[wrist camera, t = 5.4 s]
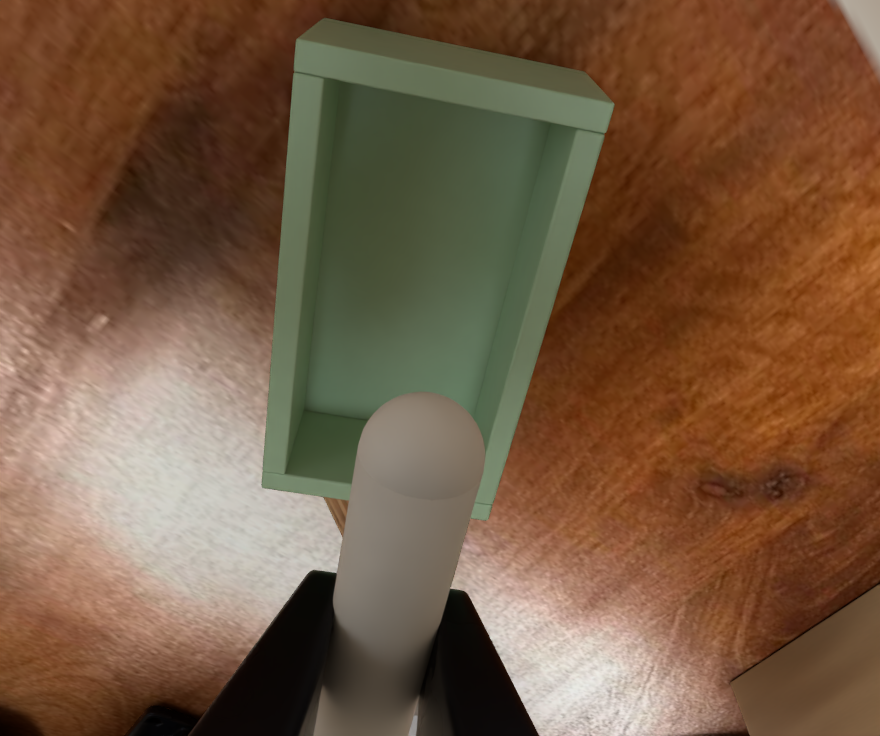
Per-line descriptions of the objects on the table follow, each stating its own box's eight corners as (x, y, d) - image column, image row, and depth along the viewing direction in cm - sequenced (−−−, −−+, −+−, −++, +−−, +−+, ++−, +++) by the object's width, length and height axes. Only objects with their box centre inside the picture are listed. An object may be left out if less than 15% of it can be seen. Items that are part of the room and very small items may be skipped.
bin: (482, 443, 23) (488, 521, 20) (285, 412, 22) (260, 488, 19) (585, 71, 17) (615, 103, 14) (323, 17, 16) (295, 38, 13)
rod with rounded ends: (394, 747, 12) (387, 837, 11) (310, 737, 12) (295, 827, 11) (494, 379, 8) (501, 456, 7) (372, 358, 8) (359, 432, 7)
